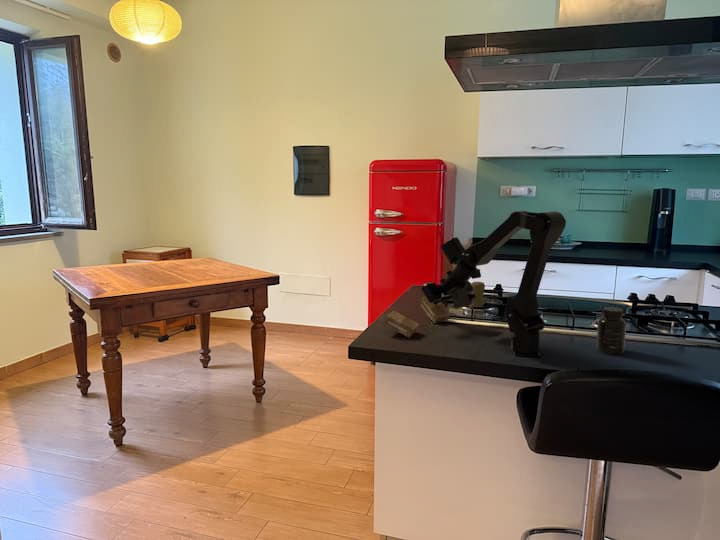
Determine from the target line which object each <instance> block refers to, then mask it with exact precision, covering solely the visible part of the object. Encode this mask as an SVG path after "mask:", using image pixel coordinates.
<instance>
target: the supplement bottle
mask: <svg viewBox="0 0 720 540" xmlns="http://www.w3.org/2000/svg"><path fill="white" fill-rule="evenodd" d="M623 314H624V310H623V309H622V308H619V307H614V306H613V307H612V306H606V307H605V306H604V307H603V308H602V313H601V315H602V316H601V317H599V319H598V320H597V333H596V350H597V351H598V352H600V353H602V354H604V355H605V354H606V355H611V356H612V355H614V356H617V355H619V356H620V355H622V354H623V353H624V352H625V344H626V343H625V341H626V333H627V332H626V329H627V323H626V320H625V319H623V317H624V315H623Z"/></svg>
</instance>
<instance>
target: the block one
mask: <svg viewBox="0 0 720 540" xmlns="http://www.w3.org/2000/svg"><path fill="white" fill-rule="evenodd" d="M383 321H384V322H383V325H384V326H387V327H388V328H390V329H391V330H394V331H396V332H398V333H400V334H401V335H403V336H405V337H407V338H408V339H410V338H411V337H412V336H413V335H414V334H415V333H416V332H417V330H418V327H419V326H420V323H418V322H417V321H415V320H412V319H410V318H408V317H407V316H405V315H403V314H401V313H399V312H397V311H395V310H392V311H391V312H389V313H388V314H387V315H385V319H384V320H383Z"/></svg>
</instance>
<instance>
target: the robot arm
mask: <svg viewBox="0 0 720 540" xmlns="http://www.w3.org/2000/svg"><path fill="white" fill-rule="evenodd" d="M566 220H567V219H565V216H564V215H563V214H562V212H559V211H557V210H555V211H554V210H553V211H545V212H534V211H533V212H531V211H526V210H519V211H513V212H511V213H510V215H509V216H508V217H507V218H506V219H505V220H504V221H503V222H502V223H501V224H500V225H499V226H497V227H496V228H495V229H494V230H493V231H492V232H491V233H490V234H488V236H487V237H485V238H484V239H483V240H481V241H478V242H477V243H474V244H473V245H471V246H469V247H467V248H465V247H464V246H463V244H462V243H461V241H460V239H459V237H451V239H450V240H447V241H446V242H444V243H442V244H441V246H440V251H441V252H442V254H443V255H444V257H445V258H446V260H447V262H448V263H449V264H450V265H453V264H454V265H456V266H454V267H453V269H452V270H447V272H446V275H447V276H446V277H445V278H444V277H443V278H441V279H440V280H439V282H440V284H436V282H432V281H431V282H426V283H423V284H422V285H421V288H420V289H421V291H422V293H423V294H424V297H426V298H427V299H428V301H429V302H430V303H434V304H438V303H440V302H442V303H443V301H446V300H447V301H448V300H450V299H451V301H452V304H453V308H454V309H456V310H458V309H461V308H465V307H469V305H471V304H472V303H473V301H474V300H475V299H476V295H475V293H472V291H473V287H472V285H471V282H470V281H469V280H470V279H473V280H474V279H480V278H481V277H482V273H481V268H478V267H479V266H484V265H488V264H489V263H490V262H491V261H492V260H493V259H494V257H495V256H496V253H497V251H498V249H499V248H501V247H502V246H504V244H505V243H507V241H509V240H511V238H512V237H513V236H515V235H516V234H517V233H518V232H519V231H521V230H522V229H524V230H529V236H530V240H531V246H530V250H529V252H528V257H527V259H526V263H525V267H524V270H523V273H522V277H521V280H520V284H519V287H518V291H517V292H516V294H515V295H510V296H508V297H507V300H506V304H505V307H504V309H503V311H505V312H504V317H505V319H506V321H507V326H508V329H509V332H510V333H512V334H511V339H510V342H511V343H510V348H511V351H512V352H513V355H514V356H516V357H537V358H540V357H541V354H540V351H539V349H540V332H539V331H543V330H544V329H545V326H546V323H545V321H544V320H543V319H542V317H541V316H540V314H539V313H538V312H539V303H538V298H537V296H538V292H539V288H540V285H541V282H542V279H543V276H544V273H545V269H546V265H547V263H548V259H549V256H550V253H551V251H552V250H551V249H552V247H553V246H554V245H555V244H556V243H557V241H558V240H559V239H560V237H561V236H562V234H563V232H564V230H565V227H566V225H567V221H566ZM477 266H478V267H477Z"/></svg>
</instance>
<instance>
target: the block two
mask: <svg viewBox="0 0 720 540" xmlns="http://www.w3.org/2000/svg"><path fill="white" fill-rule="evenodd" d="M418 305H419V306H420V307H421V308H422V309H423V311H424V312H425V313H426V315H427V317H429V319H430V320H431V321H432V323H433V324H438V323H441V322H445V321H448V319H449V318H450V316H451V315H452V314H451V312H450V311H449V310H448V309H447V307H446V306H445V305H444V304H443V301H442V302H440V303H438V304H434V303H430V302H429V301H428V299H427V298H426V296H422V298H421V299H420V301H419V302H418Z"/></svg>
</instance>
